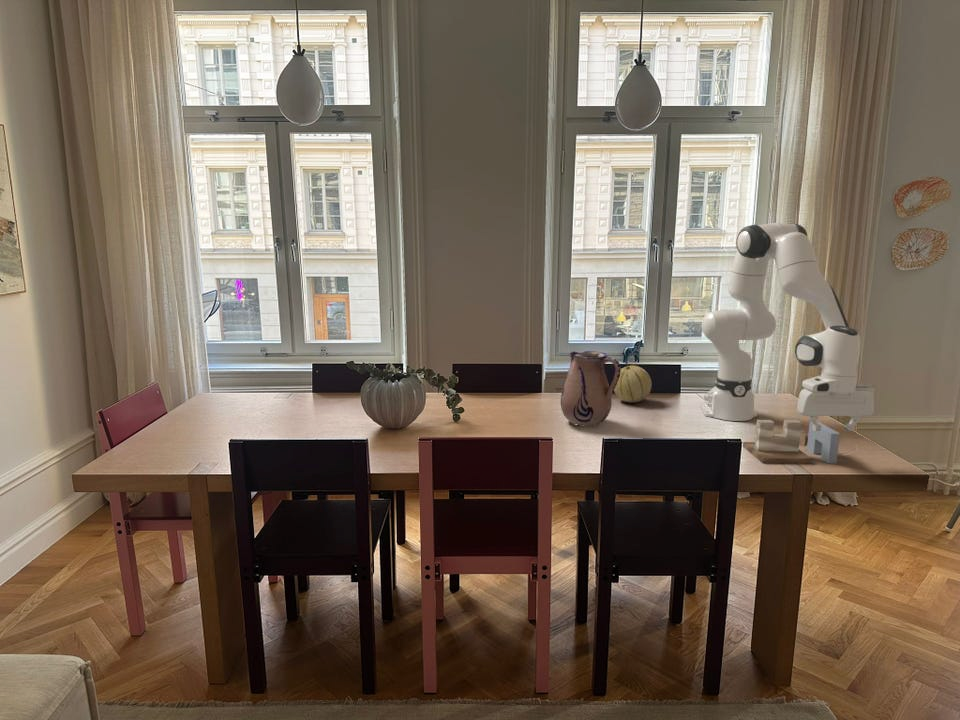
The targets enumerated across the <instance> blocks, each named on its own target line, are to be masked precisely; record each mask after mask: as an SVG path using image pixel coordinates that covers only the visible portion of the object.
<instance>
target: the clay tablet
mask: <svg viewBox="0 0 960 720" xmlns="http://www.w3.org/2000/svg"><path fill="white" fill-rule="evenodd" d="M773 434H783V428H782V429H780V428H775V427H774V429H773ZM805 445H806V433H805V432H803V431H801V432H800V441H799V446H802V447H804V446H805Z"/></svg>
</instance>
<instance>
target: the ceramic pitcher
mask: <svg viewBox="0 0 960 720" xmlns="http://www.w3.org/2000/svg"><path fill="white" fill-rule="evenodd" d="M569 354H570V364H569V369H568V371H567V374H566V378H565V380H564V383H563V387H562V390H561V395H560V409H561V412H562V414H563V416H564V417H565V418H566V420H567V421H569V422H570V423H571V424H572V423H573V425H574V424H577V425H586V426H585V427H594V425H595V426H598V425H600V424H602V423H603V422H604V421H605V420H606V419H607V418H608V416H609V415H610V413H611V411H612V395H613V393H614V389H615V387H616V385H617V383H618V380H619V378H620V374H621V369H622V368H621V364H620V362H619V361H618V360H617V359H616V358H615V357H610V356H608V354H607V353H606V352H601V351H595V350H586V351H583V352H578V351H570V352H569ZM609 362H610V363H612V364H613V366H614V369H615V370H614V376H613V379H612V381H611V383H610V384H609V381H608V377H607V375H606V371H605V367H604V366H605V364H606V363H609ZM577 425H576V426H577Z"/></svg>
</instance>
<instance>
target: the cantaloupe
mask: <svg viewBox="0 0 960 720" xmlns="http://www.w3.org/2000/svg"><path fill="white" fill-rule="evenodd" d="M651 391H652V379H651V376H650V375H649V373H648V372H647V371H646V370H645V369H644V368H643V367H640V366H639V365H627V366H624V367H622V368H621V374H620V378H619V380H618V383H617V385H616V387H615V389H614V391H613V393H615V395H616V396H617V397H618V398H619V399H620V400H621V401H623V402H626V403H638V402H641V401H644V399H646V398H647V397H648V396H649V394H650V393H651Z"/></svg>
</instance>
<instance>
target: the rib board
mask: <svg viewBox="0 0 960 720" xmlns="http://www.w3.org/2000/svg"><path fill="white" fill-rule="evenodd" d="M774 428H775V421H773V420H772V419H757V420H756V429H755V436H754V437H755V438H754V440H755V441H743V442H742V447H743V448H744V449H745V450H746V451H747V452H748V453H750V454H751V455H752V456H753V457H754V458H756V459H757V460H758V461H760V462H761V464H812V459H813V458H812V457H811V456H809V455H807V454H806V453H805V452H803V451H802V450H800V449H799V448H800V445H799V441H800V432H802V430H801V429H802V421H800V420H798V419H784V420H783V425H782V429H783V434H773V429H774Z"/></svg>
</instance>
